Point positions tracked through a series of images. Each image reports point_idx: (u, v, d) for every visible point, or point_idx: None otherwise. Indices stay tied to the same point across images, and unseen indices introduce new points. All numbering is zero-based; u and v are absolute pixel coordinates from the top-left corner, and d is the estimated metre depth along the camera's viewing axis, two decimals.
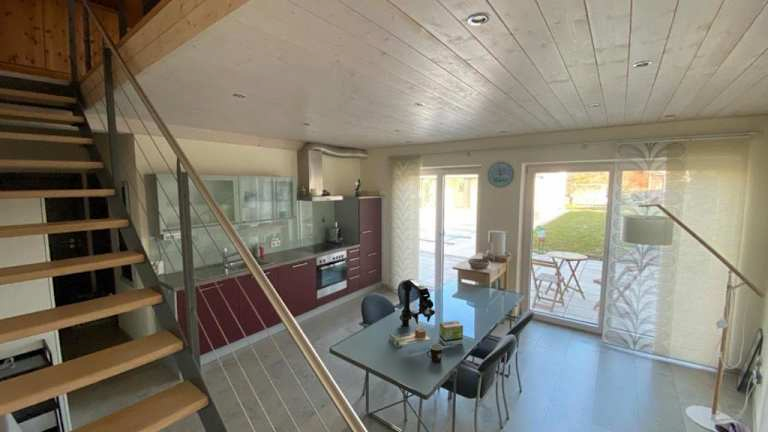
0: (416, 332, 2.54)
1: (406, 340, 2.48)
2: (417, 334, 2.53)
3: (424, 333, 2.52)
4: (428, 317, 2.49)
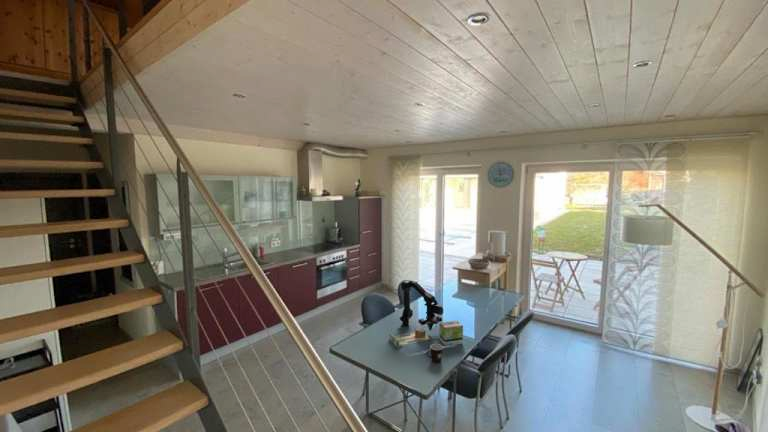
0: (416, 332, 2.54)
1: (406, 340, 2.48)
2: (417, 334, 2.53)
3: (424, 333, 2.52)
4: None
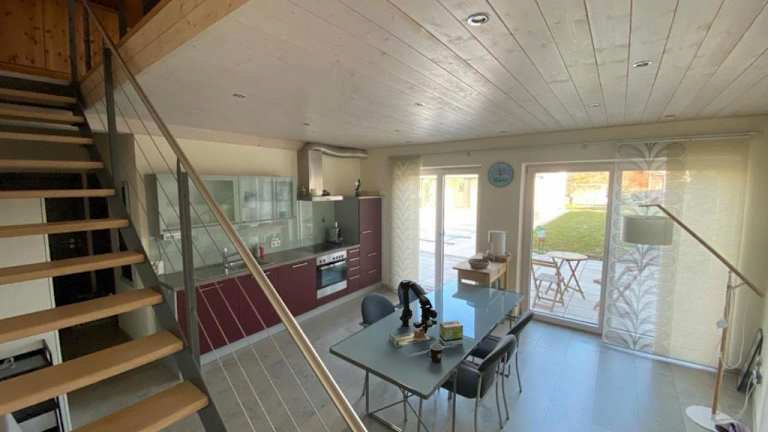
0: (415, 332, 2.54)
1: (406, 340, 2.48)
2: (416, 334, 2.52)
3: (423, 333, 2.52)
4: None
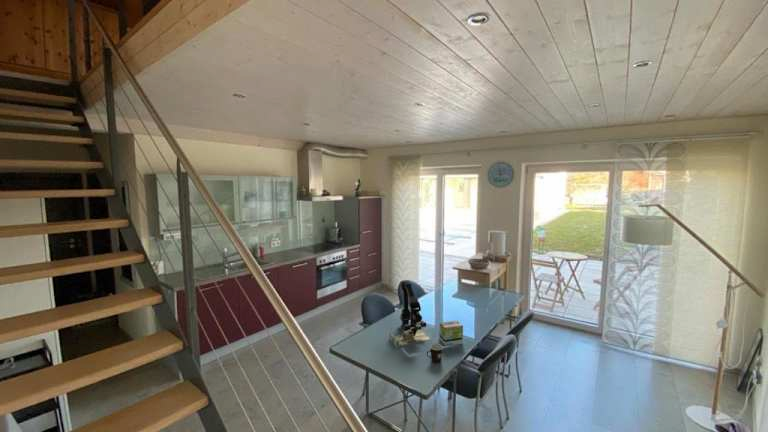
0: (404, 335, 2.50)
1: None
2: (405, 337, 2.48)
3: (412, 336, 2.48)
4: None
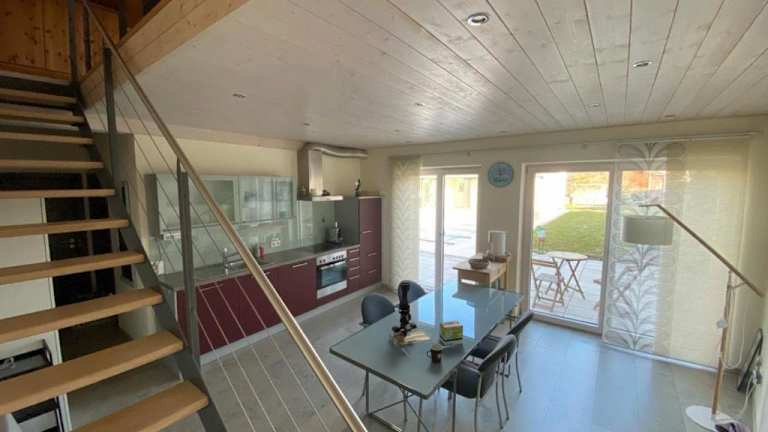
0: None
1: (406, 340, 2.48)
2: None
3: (402, 338, 2.45)
4: None
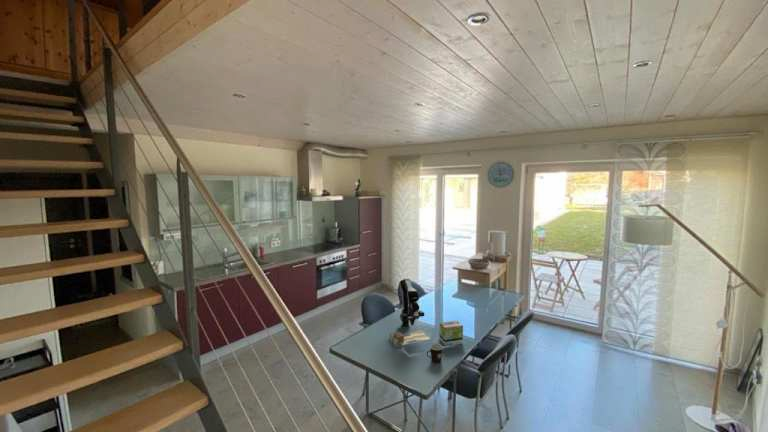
0: None
1: (406, 340, 2.48)
2: None
3: (402, 338, 2.45)
4: (412, 320, 2.51)
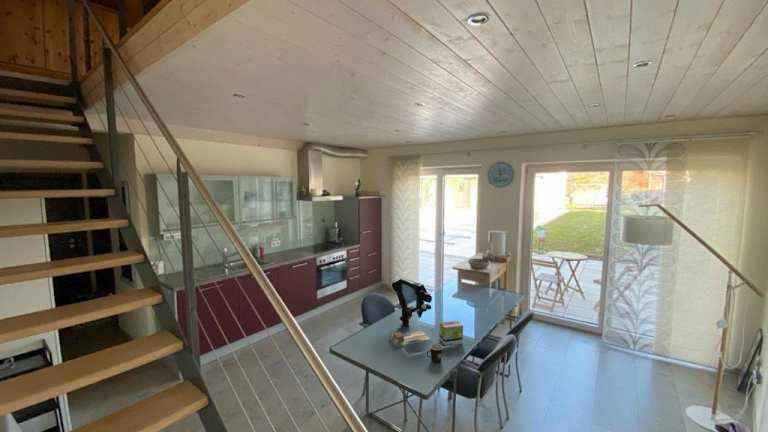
0: None
1: (406, 340, 2.48)
2: None
3: (402, 338, 2.45)
4: (420, 313, 2.62)
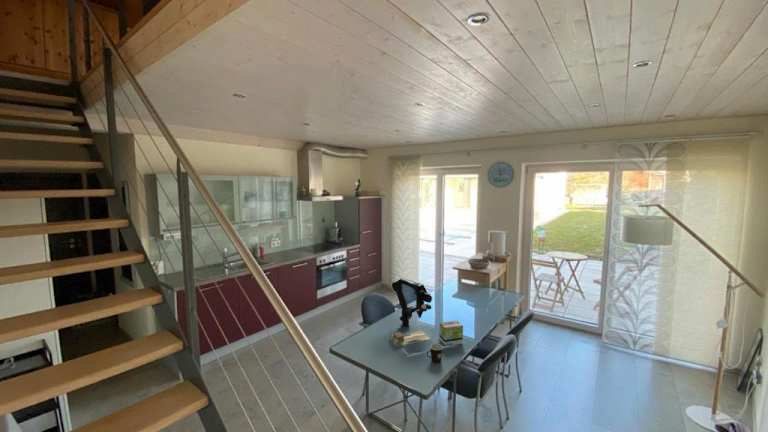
0: None
1: (406, 340, 2.48)
2: None
3: (402, 338, 2.45)
4: (420, 313, 2.62)
